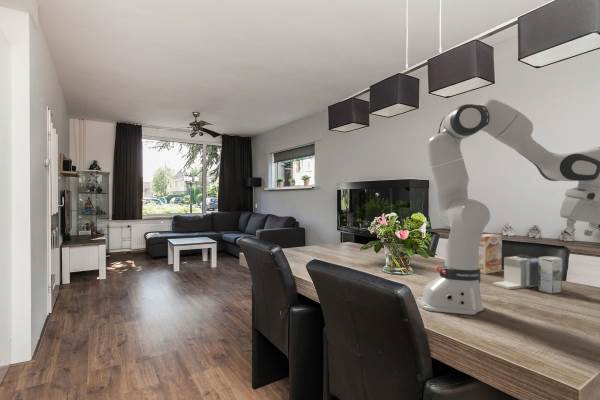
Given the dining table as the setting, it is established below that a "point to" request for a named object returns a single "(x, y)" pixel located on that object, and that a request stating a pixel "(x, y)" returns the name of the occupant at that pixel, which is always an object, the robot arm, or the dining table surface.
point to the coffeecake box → (490, 253)
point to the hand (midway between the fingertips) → (578, 234)
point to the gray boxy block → (531, 270)
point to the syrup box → (550, 274)
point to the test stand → (514, 273)
